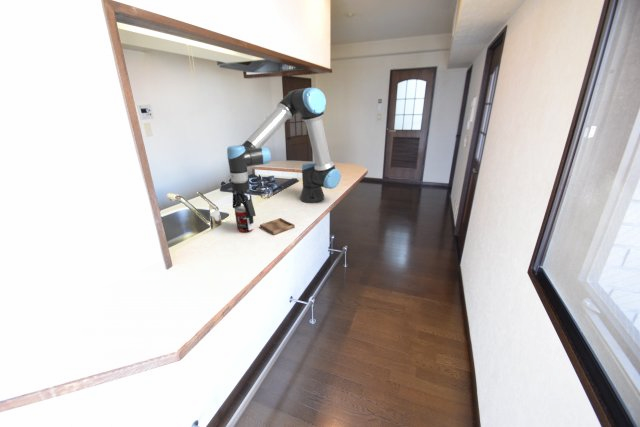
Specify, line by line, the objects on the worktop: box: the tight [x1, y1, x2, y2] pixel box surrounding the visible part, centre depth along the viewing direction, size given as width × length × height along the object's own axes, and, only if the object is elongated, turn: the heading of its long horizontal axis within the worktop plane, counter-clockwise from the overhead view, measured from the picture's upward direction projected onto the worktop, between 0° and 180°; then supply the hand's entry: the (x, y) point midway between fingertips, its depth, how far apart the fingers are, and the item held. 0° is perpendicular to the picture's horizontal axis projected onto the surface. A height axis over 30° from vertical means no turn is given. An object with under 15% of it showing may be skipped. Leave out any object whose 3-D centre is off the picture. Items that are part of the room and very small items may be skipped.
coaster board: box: [259, 218, 295, 236], centre depth 132 cm, size 12×12×2 cm
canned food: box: [234, 205, 254, 234], centre depth 129 cm, size 8×8×11 cm
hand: (245, 225), depth 131 cm, fingers open, 10 cm apart
